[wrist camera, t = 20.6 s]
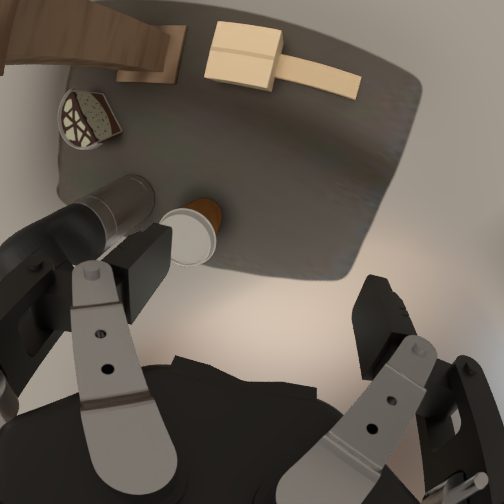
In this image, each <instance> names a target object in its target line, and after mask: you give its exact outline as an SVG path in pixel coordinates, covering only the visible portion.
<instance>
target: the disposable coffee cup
mask: <svg viewBox="0 0 504 504" xmlns="http://www.w3.org/2000/svg"><path fill="white" fill-rule="evenodd" d="M221 220H222V213H221V209H220V207H219V206H218V205H217V203H215V202H214V201H212V200H210V199H207V198H201V199H198V200H196V201H194V202H192V203H190V204H188V205H186V206H184V207H182V208H179V209H174V210H172V211H170V212H168V213H167V214H166V215H165V216H164V217H163V218H162V219H161V221H160V223H159V224H162V225H166V226H170V227H172V230H173V235H172V248H171V262H173V263H174V264H176V265H179V266H183V267H194V266H197V265H200V264H202V263H205V262H206V261H207V260H209V258H210V257H211V256H212V255H213V253H214V251H215V247H216V236H217V233H218V229H219V226H220V223H221Z"/></svg>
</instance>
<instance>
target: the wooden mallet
mask: <svg viewBox="0 0 504 504" xmlns="http://www.w3.org/2000/svg"><path fill="white" fill-rule="evenodd" d="M283 45H284V41H283V36H282V31H281V30H276V29H271V28H265V27H259V26H253V25H246V24H239V23H231V22H221V21H218V23H217V27H216V31H215V34H214V38H213V42H212V46H211V49H210V54H209V58H208V62H207V66H206V71H205V75H204V77H205V78H208V79H211V80H214V81H217V82H222V83H228V84H234V85H239V86H245V87H250V88H255V89H260V90H264V91H269V92H272V88H273V84H274V80H275V78H277V79H281V80H286V81H290V82H294V83H298V84H302V85H305V86H309V87H313V88H316V89H320V90H323V91H327V92H330V93H333V94H336V95H340V96H343V97H346V98H349V99H352V100H356V96H357V92H358V88H359V84H360V80H361V77H360V76H357V75H354V74H351V73H348V72H345V71H342V70H339V69H336V68H333V67H329V66H326V65H322V64H319V63H315V62H311V61H308V60H304V59H300V58H296V57H291V56H287V55H283V54H281V53H282V49H283Z"/></svg>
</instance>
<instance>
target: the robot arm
mask: <svg viewBox="0 0 504 504" xmlns="http://www.w3.org/2000/svg"><path fill="white" fill-rule="evenodd" d="M154 203H155V197H154V192H153V190H152V188H151V186H150V184H149V183H148V182H147V181H146V180H145V179H143V178H142V177H140V176H137V175H128V176H125V177H123V178H120V179H118V180H116V181H114V182H112V183H110V184H108V185H106V186H104V187H102V188H100V189H98V190H96V191H94V192H92V193H90V194H88V195H87V196H85V197H83V198H81V199H79V200H77V201H76V202H74V203H72V204H70V205H68V206H66V207H64V208H62V209H59V210H58V211H56V212H54V213H52V214H50V215H48V216H46V217H44V218H42V219H41V220H38V221H36V222H34V223H32V224H30V225H28V226H27V227H25V228H23V229H21V230H19V231H18V232H16V233H15V234H13V235H12V236H11V237H9V238H8V239H7V240H6V241H5V242H4V243H3V244H2V245H1V246H0V504H504V426H503V422H502V419H501V416H500V414H499V411H498V408H497V405H496V402H495V400H494V397H493V394H492V392H491V390H490V387H489V384H488V382H487V379H486V377H485V375H484V372H483V370H482V368H481V366H480V365H479V364H478V363H477V362H476V361H475V360H474V359H472V358H471V357H468V356H465V355H460V356H458V357H457V358H456V360H455V361H454V362H453V364H450V363H447V362H445V361H442V360H440V359H438V358H437V352H436V349H435V348H434V346H433V345H432V344H431V343H430V342H429V341H427V340H426V339H424V338H422V337H420V336H417V333H416V331H415V328H414V326H413V324H412V321H411V319H410V317H409V314H408V312H407V311H406V307H405V305H404V303H403V301H402V300H401V299H400V298H399V296H398V295H397V294H396V293H395V292H393V291H392V289H391V287H390V284H389V282H388V280H387V279H386V278H383V277H379V276H375V275H371V274H370V275H368V276H367V278H366V280H365V282H364V284H363V287H362V289H361V291H360V293H359V296H358V298H357V300H356V302H355V305H354V307H353V311H352V324H353V329H354V334H355V339H356V345H357V351H358V356H359V363H360V369H361V375H362V380H370V381H372V382H371V383H370V385H369V386H368V387H367V388H366V390H365V391H364V392H363V393H362V395H361V396H360V397H359V398H358V399H357V401H356V402H355V403H354V404H353V405H352V406H351V408H350V409H349V410H348V411H347V412H346V413H345V414H344V415H343V414H342V413H341V412H340V411H338V410H337V409H335V408H334V407H333V406H331V405H329V404H327V403H326V402H324V401H322V400H319V399H317V388H315V387H309V386H303V385H297V384H292V383H286V382H247V381H243V380H240V379H238V378H236V377H234V376H231V375H229V374H227V373H225V372H223V371H220V370H219V369H217V368H214V367H213V366H211V365H208V364H204V363H200V362H197V361H193V360H189V359H186V358H183V357H179V356H176V355H175V357H174V360H173V362H172V364H171V365H149V366H143V367H141V366H140V363H139V360H138V357H137V354H136V351H135V348H134V344H133V341H132V337H131V335H130V330H129V327H128V324H131V325H132V323H133V322H134V321H135V319H136V318H137V316H138V314H139V313H140V312H141V310H142V309H143V307H144V306H145V305H146V303H147V302H148V300H149V299H150V297H151V296H152V295H153V293H154V292H155V290H156V289H157V288H158V286H159V285H160V283H161V282H162V281H163V279H164V278H165V276H166V275H167V273H168V270H169V267H170V262H171V248H172V235H173V230H172V227H170V226H166V225H162V224H157V223H153V224H152V225H151V226H149V227H148V228H147V229H146V230H145V231H144V232H137V233H134V234H132V235H129V236H128V237H127V238H126V239H125V240H124V241H123V242H121V243H120V244H119V245H118V246H117V247H116V248H114V249H113V250H112V251H111V252H110V253H109V254H108V255H107V256H105V257H104V259H102V260H101V261H98V260H96V259H97V258H98V257H100V256H101V255H102V254H103V253H104V252H105V251H107V250H108V249H109V248H110V247H111V246H112V245H113V244H115V243H116V242H117V241H118V240H119V239H120V238H121V237H123V236H124V235H125V234H126V233H128V232H129V231H130V230H131V229H132V228H134V227H135V226H136V225H137V224H139V223H140V222H141V221H142V220H144V219H145V218H146V217H147V216H148V215H150V213H151V212H152V210H153V208H154ZM72 264H73V265H76V267H75V268H74V267H73V265H72ZM64 331H68V332H72V341H73V352H74V361H75V369H76V376H77V383H78V389H79V392H78V393H76V394H73V395H71V396H68V397H66V398H63V399H60V400H58V401H55V402H53V403H50V404H47V405H45V406H42V407H39V408H37V409H34V410H31V411H28V412H26V413H23V414H20V415H18V416H17V413H18V410H19V401H18V397H19V395H20V394H21V392H22V391H23V389H24V388H25V386H26V385H27V383H28V382H29V380H30V378H31V377H32V376H33V374H34V373H35V371H36V370H37V368H38V367H39V365H40V364H41V362H42V361H43V360H44V358H45V357H46V355H47V354H48V353H49V351H50V350H51V349H52V347H53V346H54V344H55V343H56V342H57V340H58V339H59V337H60V336H61V335H62V334H63V332H64ZM457 409H458V410H459V414H460V418H461V427H460V430H459V432H458V433H457V434H456V435H455V432H454V427H453V423H452V419H451V415H452V414H453V413H454V412H455V411H456V410H457ZM414 415H416V421H417V426H418V433H419V440H420V446H421V454H422V462H423V471H424V482H425V495H424V497H423V499H422V501H421V503H420V502H419V501H418V500H417V499H416V498H415V497H414V495H413V494H411V492H410V491H409V490H408V489H407V488H406V487H405V485H404V484H403V483H402V482H401V481H400V480H399V479H398V477H397V476H396V475H395V474H394V473H393V472H392V471H391V470H390V468H389V467H388V466H387V465H386V462H387V461H388V459H389V457H390V456H391V454H392V453H393V451H394V450H395V448H396V446H397V445H398V443H399V441H400V440H401V438H402V436H403V434H404V433H405V431H406V429H407V428H408V426H409V424H410V422H411V420H412V418H413V417H414Z"/></svg>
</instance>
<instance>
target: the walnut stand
mask: <svg viewBox="0 0 504 504" xmlns="http://www.w3.org/2000/svg"><path fill="white" fill-rule="evenodd" d="M187 30H188V26H185V25H162V26H150V25H148V24H146V23H144V22H141V21H139V20H137V19H135V18H132V17H130V16H128V15H125V14H123V13H120V12H118V11H116V10H113V9H110V8H108V7H105V6H103V5H100V4H97V3H95V2H92V1H89V0H0V76H3V73H4V67H5V65H20V64H21V65H22V64H45V65H46V64H47V65H71V66H85V67H96V68H106V69H115V70H118V71H117V77H116V82H149V83H167V84H177V78H178V73H179V67H180V62H181V57H182V53H183V48H184V43H185V39H186V34H187Z"/></svg>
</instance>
